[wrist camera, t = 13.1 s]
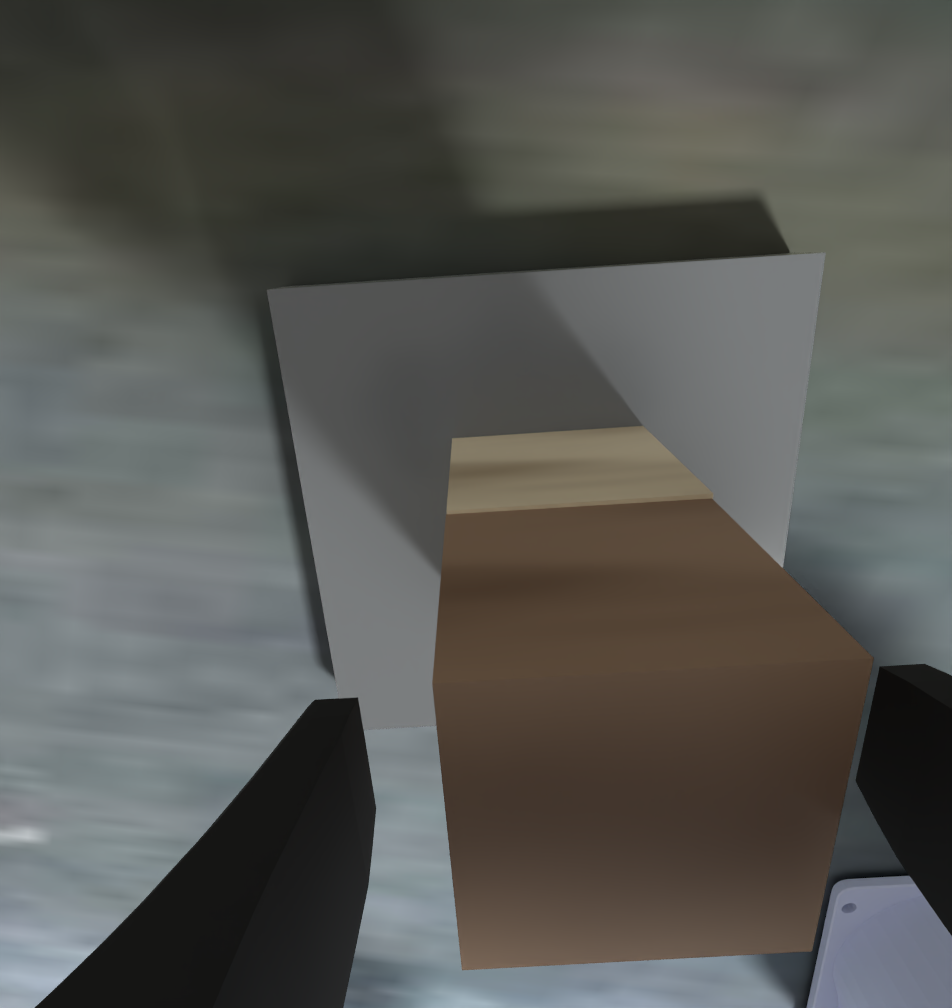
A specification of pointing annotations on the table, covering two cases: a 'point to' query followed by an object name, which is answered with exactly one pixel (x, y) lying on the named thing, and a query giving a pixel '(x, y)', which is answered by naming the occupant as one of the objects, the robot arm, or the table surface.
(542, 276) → the plate
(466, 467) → the maple block
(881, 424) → the table surface
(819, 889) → the walnut block
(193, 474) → the table surface
